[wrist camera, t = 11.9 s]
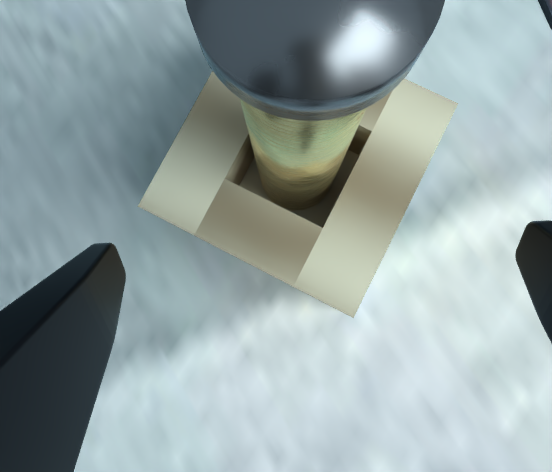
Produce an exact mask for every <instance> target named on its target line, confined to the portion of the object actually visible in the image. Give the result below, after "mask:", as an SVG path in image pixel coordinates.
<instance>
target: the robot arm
mask: <svg viewBox="0 0 552 472" xmlns="http://www.w3.org/2000/svg"><path fill="white" fill-rule="evenodd" d="M516 261H517V264H518V267H519V269H520V272H521V274H522V277H523V280H524V282H525V285H526V287H527V290H528V292H529V295H530V297H531V300H532V302H533V305H534V307H535V310H536V312H537V315H538V317H539V319H540V321H541V323H542V325H543V327H544V329H545V331H546V333H547V335H548V337H549V339H550V341H551V343H552V221H532V222H530V223H529V224H528V225H527V226H526V228H525V230H524V233H523V235H522V237H521V240H520V242H519V245H518V247H517V250H516ZM125 280H126V273H125V269H124V267H123V264H122V261H121V259H120V256H119V254H118V251H117V249H116V247H115V245H114V244H112V243H97V244H93V245H91V246H90V247H88V248H87V249H86V250H84V251H83V252H81V253H80V254H79V255H77V256H76V257H75V258H73V259H72V260H70V261H69V262H68V263H66V264H65V265H63V266H62V267H61V268H59V269H58V270H57V271H55V272H54V273H52V274H51V275H50V276H48V277H47V278H45V279H44V280H43V281H41V282H40V283H38V284H37V285H36V286H34V287H33V288H32V289H30V290H29V291H27V292H26V293H25V294H23V295H22V296H20V297H19V298H18V299H16V300H15V301H14V302H12V303H11V304H9V305H8V306H7V307H5V308H4V309H2V310H1V311H0V472H74V469H75V465H76V462H77V459H78V456H79V453H80V449H81V446H82V443H83V440H84V437H85V433H86V430H87V427H88V424H89V420H90V417H91V414H92V411H93V408H94V404H95V401H96V398H97V395H98V392H99V388H100V385H101V382H102V379H103V376H104V372H105V369H106V366H107V363H108V360H109V356H110V353H111V350H112V346H113V343H114V339H115V334H116V329H117V324H118V319H119V313H120V308H121V302H122V297H123V291H124V286H125Z"/></svg>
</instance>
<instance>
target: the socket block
mask: <svg viewBox="0 0 552 472" xmlns="http://www.w3.org/2000/svg"><path fill="white" fill-rule="evenodd" d="M457 105H458V103H456V102H454V101H452V100H449V99H447V98H445V97H443V96H441V95H439V94H436V93H434V92H432V91H430V90H428V89H426V88H424V87H421V86H419V85H417V84H415V83H413V82H411V81H408V80H406V79H403V80H402V81H401V82H400V84H399V85H398V86H397V87H396V88H394V89H393V90H392V91H391V92H390V93H389V94H388V95H387V96H385V97H384V98H382V99H381V100H379V101H378V102H376V103H375V104H373V105H371V106H369V107H367V108H366V110H365V113H364V115H363V117H362V119H361V121H360V124H359V126H358V128H357V130H356V133H355V135H354V137H353V139H352V141H351V144H350V146H349V148H348V150H347V152H346V155H345V157H344V159H343V161H342V163H341V166H340V168H339V170H338V172H337V174H336V177H335V179H334V181H333V183H332V185H331V188H330V190H329V192H328V193H327V195H326V196H325V198H324V199H323V200H322V201H321V202H319V203H318V204H317V205H315V206H313V207H311V208H308V209H305V210H289V209H285V208H282V207H280V206H278V205H277V204H275V203H274V202H273V201H272V200H271V199H270V198H269V197H268V196H267V194H266V193H265V191H264V189H263V186H262V183H261V179H260V175H259V171H258V168H257V164H256V160H255V156H254V152H253V148H252V144H251V140H250V136H249V133H248V129H247V125H246V121H245V117H244V113H243V109H242V105H241V102H240V98H238V97H237V96H236V95H235V94H234V93H232V92H231V91H230V90H229V89H228V88H227V87H226V86H225V85H224V84H223V83H222V82H221V81H220V80H219V79H218V77H217V76H216V75H215V73H214V72H213V71H212V73H211V75H210V76H209V78H208V80H207V82H206V84H205V85H204V87H203V89H202V91H201V93H200V95H199V96H198V98H197V100H196V102H195V104H194V105H193V107H192V109H191V111H190V113H189V114H188V116H187V118H186V120H185V122H184V123H183V125H182V127H181V129H180V131H179V133H178V134H177V136H176V138H175V140H174V142H173V143H172V145H171V147H170V149H169V151H168V152H167V154H166V156H165V158H164V160H163V161H162V163H161V165H160V167H159V169H158V170H157V172H156V174H155V176H154V178H153V180H152V181H151V183H150V185H149V187H148V189H147V190H146V192H145V194H144V196H143V198H142V199H141V201H140V203H139V205H138V207H140V208H142V209H144V210H146V211H148V212H149V213H151V214H153V215H155V216H157V217H159V218H161V219H163V220H165V221H167V222H169V223H171V224H173V225H175V226H177V227H178V228H180V229H182V230H184V231H186V232H188V233H190V234H192V235H194V236H196V237H198V238H200V239H202V240H204V241H206V242H207V243H209V244H211V245H213V246H215V247H217V248H219V249H221V250H223V251H225V252H227V253H229V254H231V255H233V256H235V257H236V258H238V259H240V260H242V261H244V262H246V263H248V264H250V265H252V266H254V267H256V268H258V269H260V270H262V271H264V272H265V273H267V274H269V275H271V276H273V277H275V278H277V279H279V280H281V281H283V282H285V283H287V284H289V285H291V286H293V287H294V288H296V289H298V290H300V291H302V292H304V293H306V294H308V295H310V296H312V297H314V298H316V299H318V300H320V301H322V302H323V303H325V304H327V305H329V306H331V307H333V308H335V309H337V310H339V311H341V312H343V313H345V314H347V315H349V316H351V317H352V318H354V316H355V314H356V312H357V310H358V308H359V306H360V304H361V301H362V299H363V297H364V295H365V293H366V291H367V289H368V287H369V285H370V283H371V281H372V279H373V277H374V275H375V273H376V271H377V269H378V267H379V265H380V263H381V261H382V258H383V256H384V254H385V252H386V250H387V248H388V246H389V244H390V242H391V240H392V238H393V236H394V234H395V232H396V230H397V228H398V226H399V224H400V222H401V220H402V218H403V216H404V213H405V211H406V209H407V207H408V205H409V203H410V201H411V199H412V197H413V195H414V193H415V191H416V189H417V187H418V185H419V183H420V181H421V179H422V177H423V175H424V173H425V171H426V168H427V166H428V164H429V162H430V160H431V158H432V156H433V154H434V152H435V150H436V148H437V146H438V144H439V142H440V140H441V138H442V136H443V134H444V132H445V130H446V128H447V125H448V123H449V121H450V119H451V117H452V115H453V113H454V111H455V109H456V107H457Z"/></svg>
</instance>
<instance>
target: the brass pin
mask: <svg viewBox="0 0 552 472" xmlns="http://www.w3.org/2000/svg"><path fill="white" fill-rule="evenodd" d="M185 1H186V6H187V10H188V13H189V16H190V19H191V22H192V24H193V27H194V30H195V33H196V35H197V38H198V41H199V44H200V46H201V49H202V52H203V54H204V56H205V58H206V60H207V62H208V64H209V66H210V67H211V69H212V70H213V72H214V73H215V75H216V76H217V77H218V79H219V80H220V81H221V82H222V83H223V84H224V85H225V86H226V87H227V88H228V89H229V90H230V91H231V92H232V93H234V94H235V95H236V96H237V97H238V98H240V102H241V105H242V109H243V113H244V117H245V121H246V125H247V129H248V133H249V136H250V140H251V144H252V148H253V152H254V156H255V160H256V164H257V168H258V171H259V175H260V179H261V183H262V186H263V189H264V191H265V193H266V194H267V196H268V197H269V198H270V199H271V200H272V201H273V202H274V203H275V204H277V205H278V206H280V207H282V208H285V209H289V210H305V209H308V208H311V207H313V206H315V205H317V204H318V203H319V202H321V201H322V200H323V199H324V198H325V196H326V195H327V193H328V192H329V190H330V188H331V185H332V183H333V181H334V179H335V177H336V174H337V172H338V170H339V168H340V166H341V163H342V161H343V159H344V157H345V155H346V152H347V150H348V148H349V146H350V144H351V141H352V139H353V137H354V135H355V133H356V130H357V128H358V126H359V124H360V121H361V119H362V117H363V115H364V113H365V110H366V108H367V107H369V106H371V105H373V104H375V103H376V102H378V101H379V100H381V99H382V98H384V97H385V96H387V95H388V94H389V93H390V92H391V91H392V90H393V89H394V88H396V87H397V86H398V85H399V84H400V82H401V81H402V80H403V79H404V78H405V77H406V76H407V74H408V73H409V71H410V70H411V68H412V67H413V65H414V64H415V62H416V61H417V59H418V57H419V55H420V54H421V52H422V50H423V48H424V47H425V45H426V43H427V42H428V40H429V38H430V36H431V35H432V33H433V31H434V29H435V27H436V25H437V22H438V20H439V18H440V15H441V12H442V9H443V5H444V2H445V0H185Z"/></svg>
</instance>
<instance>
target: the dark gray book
mask: <svg viewBox="0 0 552 472" xmlns="http://www.w3.org/2000/svg"><path fill="white" fill-rule="evenodd" d="M538 1H539V3H540V5H541V8H542V10H543V12H544V14H545V16H546V19H547V21H548V23H549V25H550V28H551V29H552V0H538Z"/></svg>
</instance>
